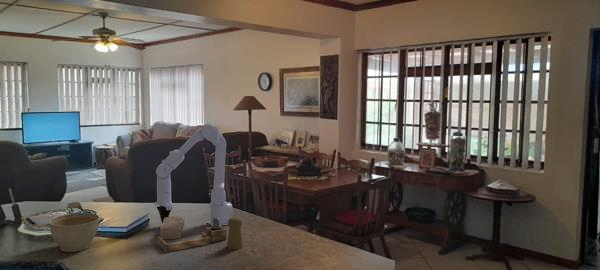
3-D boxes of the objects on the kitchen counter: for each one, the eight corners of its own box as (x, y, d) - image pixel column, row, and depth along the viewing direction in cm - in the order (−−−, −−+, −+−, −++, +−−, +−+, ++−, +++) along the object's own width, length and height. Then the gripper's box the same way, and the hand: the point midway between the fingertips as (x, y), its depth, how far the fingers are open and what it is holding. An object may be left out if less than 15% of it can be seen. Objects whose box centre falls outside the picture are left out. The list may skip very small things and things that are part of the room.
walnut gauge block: (220, 235, 174) (220, 225, 173) (226, 239, 169) (226, 229, 168) (206, 237, 170) (206, 227, 170) (211, 242, 165) (211, 232, 165)
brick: (181, 238, 169) (181, 226, 168) (159, 239, 167) (158, 227, 167) (184, 226, 185) (184, 215, 185) (164, 227, 184) (164, 216, 183)
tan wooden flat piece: (200, 235, 173) (200, 229, 172) (210, 243, 164) (210, 237, 163) (157, 243, 163) (157, 236, 163) (166, 252, 154) (166, 245, 154)
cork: (246, 245, 163) (246, 216, 162) (238, 250, 157) (238, 220, 156) (231, 243, 165) (231, 214, 164) (223, 248, 159) (223, 219, 158)
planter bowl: (49, 259, 147) (47, 227, 146) (51, 244, 161) (50, 215, 160) (101, 251, 154) (100, 222, 153) (98, 238, 168) (98, 210, 167)
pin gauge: (216, 237, 171) (216, 217, 170) (220, 238, 170) (220, 218, 169) (211, 238, 169) (211, 218, 169) (215, 240, 168) (215, 220, 167)
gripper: (150, 189, 187) (150, 220, 188) (159, 196, 175) (159, 228, 176) (166, 187, 191) (166, 217, 192) (176, 194, 179) (176, 226, 180)
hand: (164, 222), depth 185 cm, fingers closed
